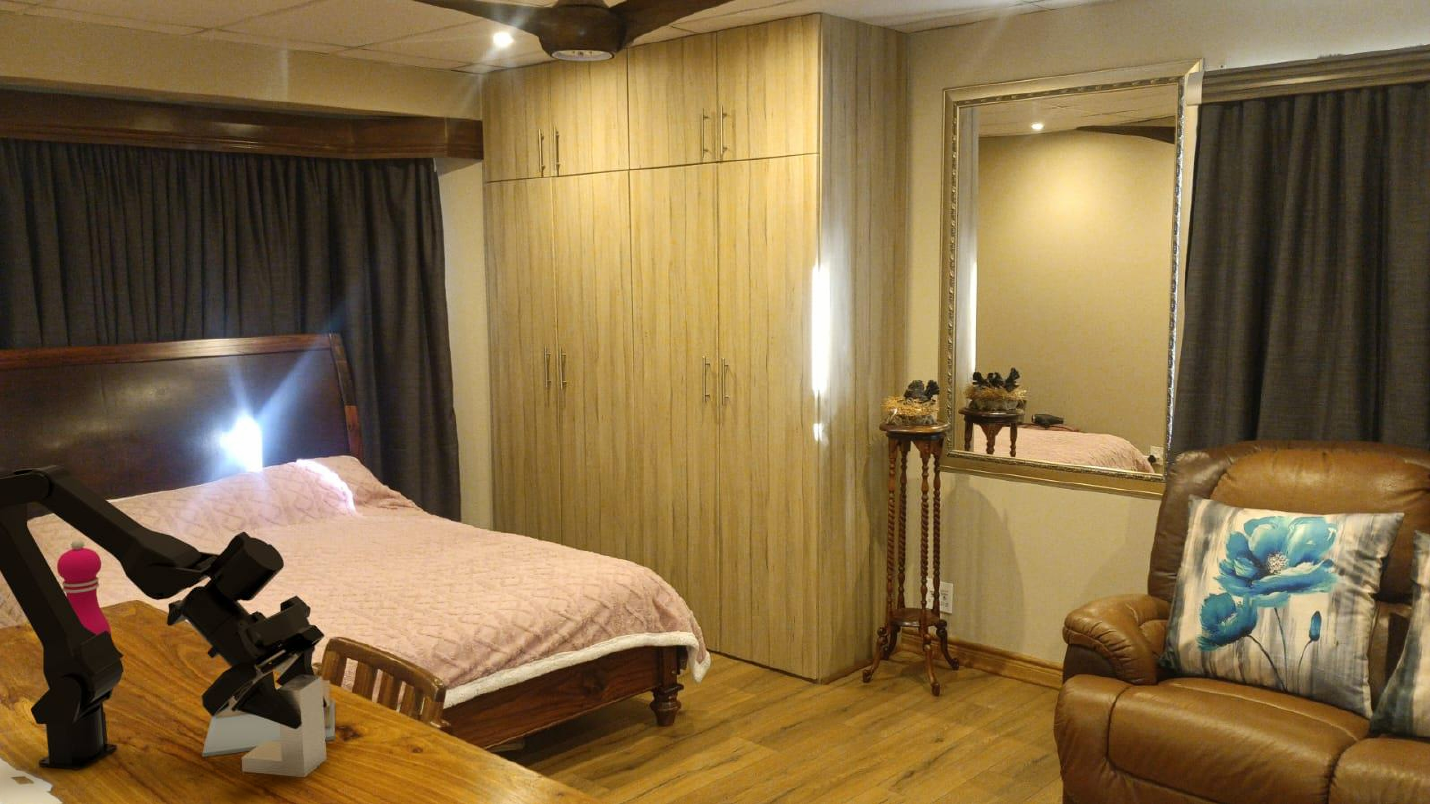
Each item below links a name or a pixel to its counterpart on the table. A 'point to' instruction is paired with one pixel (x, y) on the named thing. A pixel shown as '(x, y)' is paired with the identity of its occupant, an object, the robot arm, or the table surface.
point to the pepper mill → (83, 585)
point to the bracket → (294, 734)
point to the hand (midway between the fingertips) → (312, 717)
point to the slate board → (247, 733)
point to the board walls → (324, 685)
